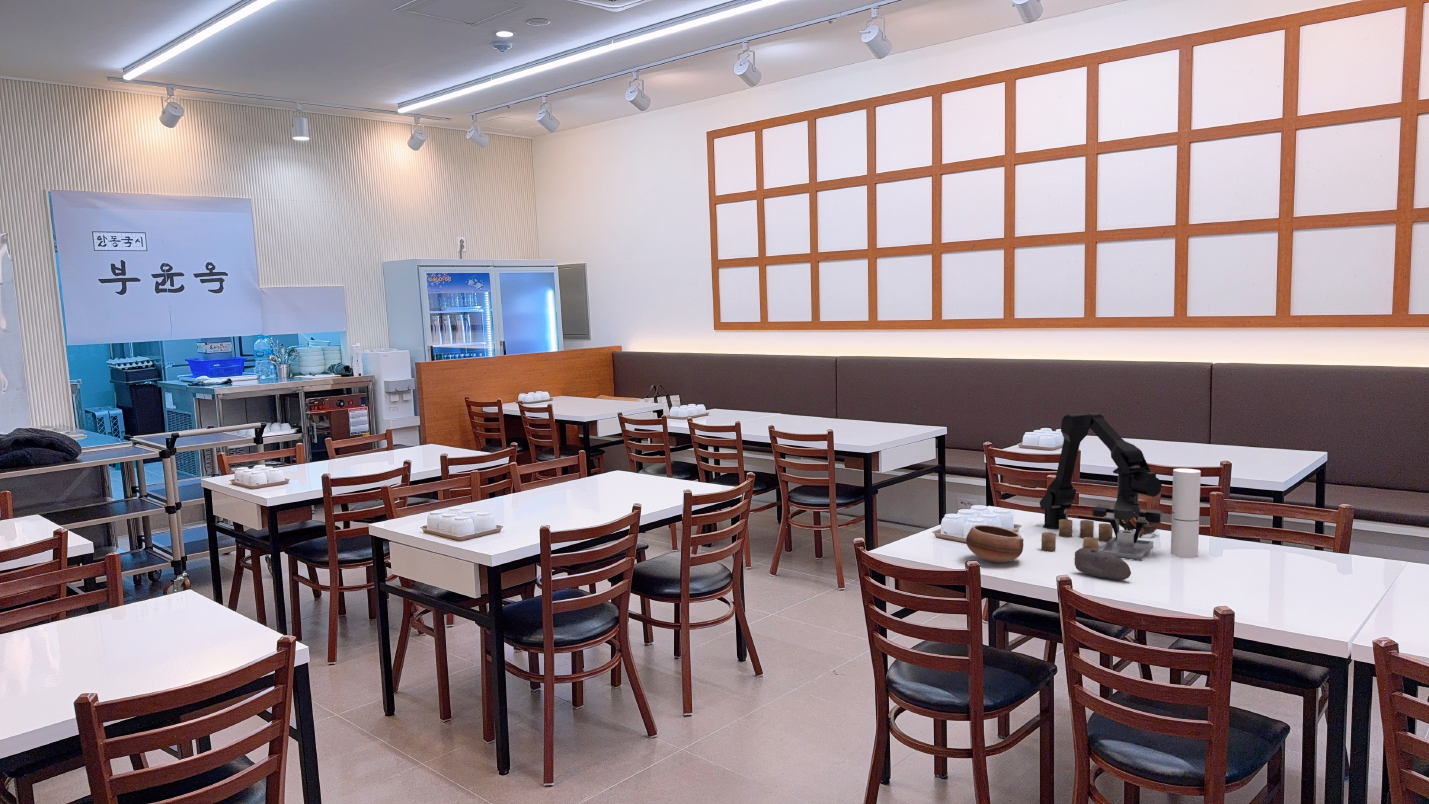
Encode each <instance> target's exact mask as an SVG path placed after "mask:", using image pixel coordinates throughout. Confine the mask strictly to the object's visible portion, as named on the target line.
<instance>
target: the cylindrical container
mask: <svg viewBox="0 0 1429 804" xmlns="http://www.w3.org/2000/svg"><path fill="white" fill-rule="evenodd" d="M1201 473H1202V471H1201V470H1200V469H1195V468H1194V469H1193V468H1183V467H1181V468H1173V470H1172V494H1171V495H1172V497H1171V527H1170V529H1171V530H1170V531H1171V533H1170V537H1171V538H1170V554H1171V556H1174V557H1177V558H1187V559H1189V558H1190V559H1193V558H1194V557H1195V558H1197V556H1198V557H1199V534H1200V533H1199V532H1200V531H1199V530H1200V502H1201V501H1200V499H1201Z"/></svg>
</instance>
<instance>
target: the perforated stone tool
mask: <svg viewBox="0 0 1429 804" xmlns="http://www.w3.org/2000/svg"><path fill="white" fill-rule="evenodd" d="M1073 562H1074V564H1073V565H1074V567H1075V569H1076V570H1077V571H1079V572H1080V573H1083V574H1086V575H1089V576H1093V577H1098V578H1102V579H1108V580H1113V581H1123V580H1127V579H1129V577H1130V576H1131V575H1132V571H1131V568H1130V566H1129V564H1128V563H1127V562H1126V561H1125V560H1124V559H1121V558H1118V557H1116V556H1113V555H1110V554H1107V553H1104V552H1099V550H1098V551H1096V550H1092V549H1087V548H1083V547H1081V548H1078V550H1075V552H1074V558H1073Z"/></svg>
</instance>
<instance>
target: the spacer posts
mask: <svg viewBox="0 0 1429 804" xmlns="http://www.w3.org/2000/svg"><path fill="white" fill-rule="evenodd" d="M1079 522H1080V523H1079V537H1080V538H1082V539H1083V544H1082V548H1087V549H1092V550H1096V551H1099V542H1102V543H1107V542H1108V541H1109V540H1110V539H1111V538H1112V537H1113V533H1114V530H1113V528H1112V525H1111V524H1110V523H1106V522H1105V523H1098V538H1097V537H1094V536H1095V535H1094V533H1095V532H1094V528H1095V524H1094V523H1095V521H1093V520H1089V519H1082V520H1080V521H1079ZM1073 523H1074V522H1073V520H1072V519H1069V518H1068V519H1060V520H1059V529H1058V536H1059V537H1061V538H1072V537H1073ZM1056 537H1057V534H1056V533H1054V532H1050V531H1048V532H1047V531H1046V532H1045V531H1043V532H1041V551H1043V552H1047V551H1048V552H1049V553H1050V552H1056V551H1057V550H1056V541H1057V539H1056ZM1055 550H1056V551H1055Z"/></svg>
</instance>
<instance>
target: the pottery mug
mask: <svg viewBox="0 0 1429 804" xmlns="http://www.w3.org/2000/svg"><path fill="white" fill-rule="evenodd" d="M1123 521H1124V522H1123ZM1137 521H1138V518H1137V517H1132V519H1131V520H1126V519H1119V527H1121V528H1123V530H1127V531H1135V530H1136V522H1137ZM1157 530H1158V523H1152V524H1150V525H1148V524H1144V526H1143V528H1142V530H1141V532H1140V535H1139V537H1138V538H1142V537H1143V536H1146V535H1150V534H1152V533H1155V531H1157Z"/></svg>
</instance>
